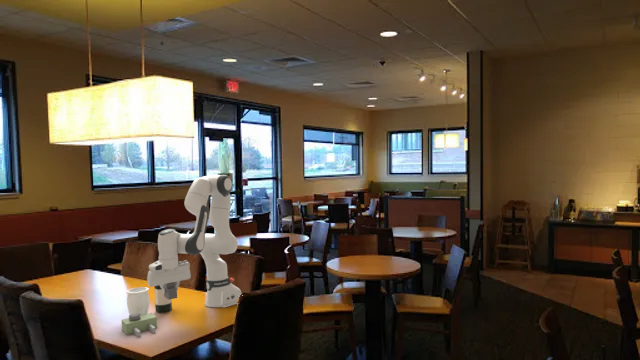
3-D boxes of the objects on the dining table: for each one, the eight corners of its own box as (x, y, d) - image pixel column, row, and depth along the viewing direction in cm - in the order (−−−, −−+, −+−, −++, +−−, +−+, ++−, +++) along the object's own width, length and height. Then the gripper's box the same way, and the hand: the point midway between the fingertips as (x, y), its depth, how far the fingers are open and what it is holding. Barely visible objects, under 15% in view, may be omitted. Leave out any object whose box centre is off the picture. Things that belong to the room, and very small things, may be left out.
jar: (143, 313, 236) (142, 285, 235) (154, 317, 229) (152, 288, 229) (124, 319, 228) (122, 290, 227) (134, 323, 221) (132, 293, 220)
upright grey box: (172, 294, 220) (171, 280, 220) (177, 297, 215) (176, 283, 214) (164, 296, 218) (163, 282, 217) (169, 299, 212) (168, 285, 212)
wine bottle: (175, 308, 243) (172, 253, 241) (165, 313, 235) (162, 257, 234) (162, 307, 245) (160, 253, 244) (152, 312, 238) (149, 256, 236)
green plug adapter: (151, 322, 222) (151, 308, 221) (162, 331, 210) (161, 316, 209) (122, 330, 213) (121, 315, 213) (130, 339, 201) (130, 323, 201)
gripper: (187, 258, 224) (188, 286, 225) (145, 266, 212) (146, 294, 212) (191, 260, 219) (193, 288, 220) (149, 268, 207) (151, 297, 207)
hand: (170, 291), depth 216 cm, fingers closed on upright grey box, 4 cm apart
